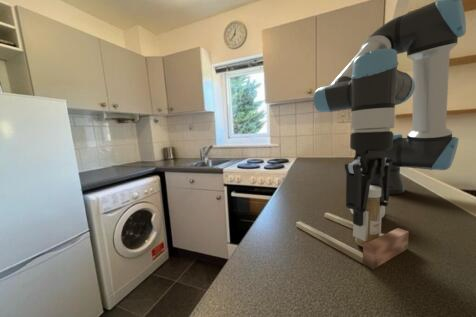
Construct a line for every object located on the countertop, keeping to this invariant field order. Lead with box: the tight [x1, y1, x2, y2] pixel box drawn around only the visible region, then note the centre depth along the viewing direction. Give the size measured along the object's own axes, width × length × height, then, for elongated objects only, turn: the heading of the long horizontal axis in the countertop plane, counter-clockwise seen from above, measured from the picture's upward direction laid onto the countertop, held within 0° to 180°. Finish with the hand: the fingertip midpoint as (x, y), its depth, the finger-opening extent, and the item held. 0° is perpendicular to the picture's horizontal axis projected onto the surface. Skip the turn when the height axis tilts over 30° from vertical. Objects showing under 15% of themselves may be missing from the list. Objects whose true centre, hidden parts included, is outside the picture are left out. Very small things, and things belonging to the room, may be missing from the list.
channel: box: [295, 211, 410, 270], centre depth 49 cm, size 13×20×4 cm, turn 27°
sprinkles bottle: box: [354, 185, 381, 248], centre depth 44 cm, size 5×5×13 cm
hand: (366, 234), depth 44 cm, fingers closed on sprinkles bottle, 4 cm apart
